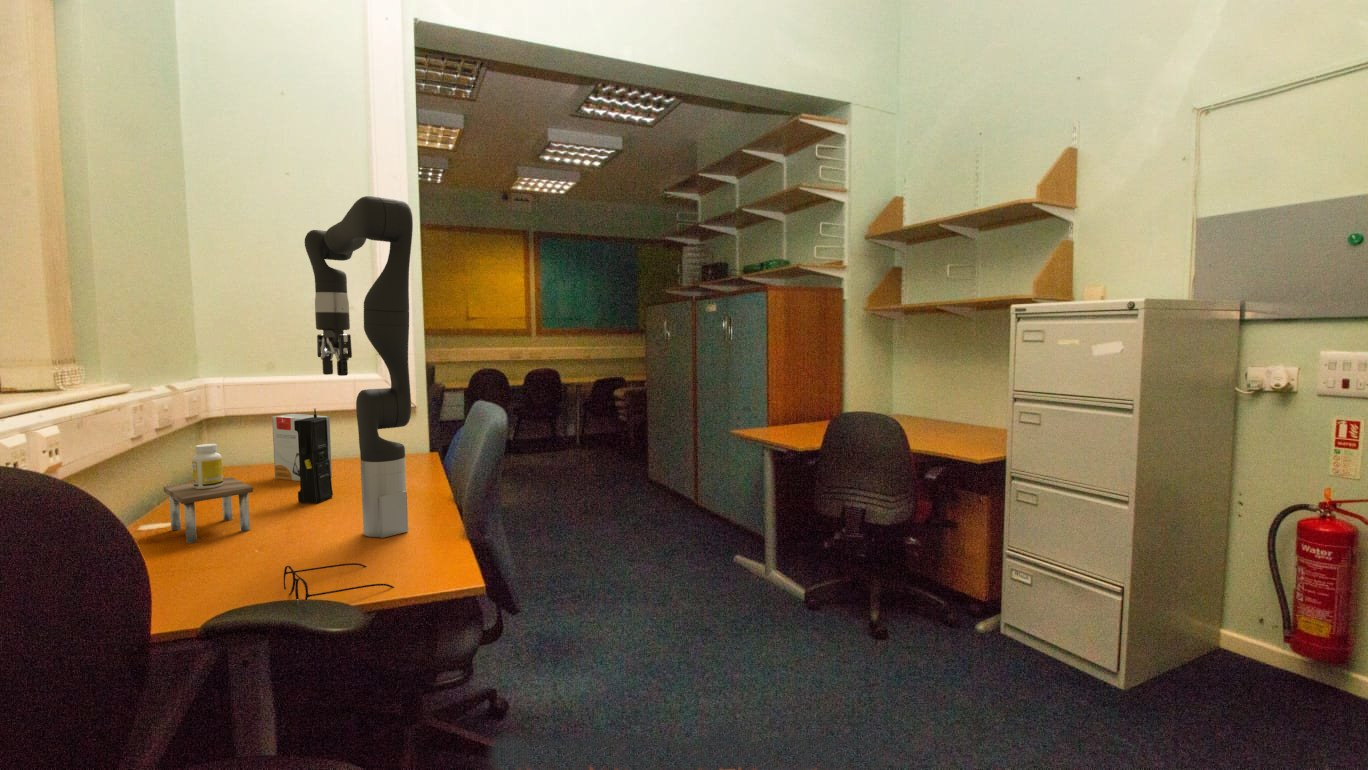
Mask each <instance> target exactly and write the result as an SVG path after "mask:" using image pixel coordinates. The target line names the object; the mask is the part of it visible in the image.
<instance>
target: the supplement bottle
mask: <svg viewBox="0 0 1368 770" xmlns="http://www.w3.org/2000/svg"><path fill="white" fill-rule="evenodd" d="M194 450H195V453H196V455H193V456H192V458H191V462H192V464H191V465H192V481H193V482H192V483H194V488H195V489H210V488H216V487H219V486H221V485H223V478H224V476H223V462H222V461H223V460H222V459H223V458H222V454H220V453H218V452H217V451H218V444H217V443H204V444H203V443H202V444H198V445H195V446H194Z"/></svg>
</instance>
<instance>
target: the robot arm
mask: <svg viewBox="0 0 1368 770" xmlns="http://www.w3.org/2000/svg"><path fill="white" fill-rule="evenodd" d="M413 223H414V222H413V213H412V209H411V207H410V205H409V204H408V203H407V202H406V201H404V200H398V199H391V198H385V197H379V196H369V195H368V196H362V197H360V198H359V199H357V200H356V201H355V202H354V203H353V204H352V206H351V207H350V209H349V210H348V211H347V213H346V214H345V215H344V217H343V218H342V220H341V221H339V222H337V223H335V224H333V225H332V226H331V227H328V229H327V230H321V229H311V230H310V231H308V232H307V233H306V235H305V237H304V248H305V250H306V253H307V256H308V259H309V262H310V264H311V268H312V272H313V276H314V289H315V291H314V292H315V293H314V294H315V297H314V311H315V312H314V316H315V328H316V330H318V331H322V333H321V334H317V336H316V344H317V346H316V347H317V348H316V349H317V352H316V353H317V358H320V360H322V361H321V362H322V363H321V364H322V374H323V375H326V376H327V375H333V374H334V365H333V364H334V363H333V361H334V360H333V357H334V355H335V358H336V371H337V372H336V373H337V376H338V377H339V376H342V377H344V376H347V375H348V374H349V371H348V369H349V368H348V361H349V360H350V359H352V357H353V352H352V351H353V349H352V339H351V338H352V337H351V334H349V333H344V331H349V330H350V329H351V327H350V324H351V323H350V321H351V320H350V302H349V298H348V297H349V296H348V282H347V280H348V279H347V274H346V273H345V271H343V270H341V269H337V268H333V267H331V266H330V265H328V263H327V261H326V260H330V261H339V262H340V261H347V260H350V259H351V258H352V256H353V253H354V252H355V251H357V250H359V249H360V248H363V246H364V245H365V243H366V241H367V239H368V240H371V241H378V242H386V243H389V251H388V256H387V261H386V263H385V266H384V267H383V269H382V272H381V273H380V274H379V276H378V277H377V278H376V279H375V281H374V282H373V284H372V285H371V287H370V288H369V290H368V292H367V293H366V295H365V296H364V300H363V330H364V331H363V332H364V334H365V335H366V337H367V339H368V340H369V342H370V344H371V345H372V347H373V348H374V350H376V352H377V354H378V355H379V357H380V358H381V359H382V361H383V362H384V364H385V366H386V368H387V370H388V371H387V372H388V373H389V378H390V387H385V388H384V387H383V388H371V389H370V388H368V389H362V390H360V391H359V392H358V394H357V397H356V404H355V410H356V413H355V414H356V421H357V431H358V432H357V433H358V444H359V445H358V446H359V454H360V455H359V456H360V478H361V479H360V480H361V481H360V483H361V502H362V503H361V505H362V526H363V528H362V529H363V535H364V536H366V537H369V538H370V537H371V538H380V539H384V538H387V537H392V536H395V535H399V534H403V533H408V532H409V519H408V517H409V516H408V513H409V512H408V492H407V478H406V477H407V475H406V472H407V471H406V448H405V445H404V444H403V443H401V442H395V441H391V440H388V439H385V438H382V437H381V436H380V435H379V431H378V430H382V429H383V430H385V429H394V428H402V427H406V426H407V425H408V424H409V422H410V420H411V416H412V397H411V396H412V395H411V383H410V381H411V380H410V370H409V369H410V368H409V367H410V366H409V340H410V339H409V336H410V334H409V333H410V296H409V295H410V290H409V289H410V288H409V287H410V264H411V263H410V262H411V261H410V260H411V252H412V243H413V242H412V241H413V230H414V229H413V228H414V227H413V225H414V224H413Z"/></svg>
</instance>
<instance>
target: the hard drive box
mask: <svg viewBox="0 0 1368 770" xmlns="http://www.w3.org/2000/svg"><path fill="white" fill-rule="evenodd" d="M314 415H315V414H304V413H303V414H301V413H300V414H299V413H288V414H281V415H273V416H271V418H272V422H271V423H272V437H273V440H272V441H273V442H272V443H273V461H274V464H273V465H274V478H275V479H278V480H282V481H283V480H284V481H296V482H300V466H299V445H298V432H297V431H295V428H294V421H296V420H301V419H305V418H311V417H314ZM316 415H317V414H316ZM317 417H326V420H327V434H328V457H329V460H330V472H331V478H332V477H333V474H332V473H333V471H332V470H333V468H332V445H331V442H332V441H331V421H330V415H329V416H328V415H317Z"/></svg>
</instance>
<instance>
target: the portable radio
mask: <svg viewBox="0 0 1368 770" xmlns="http://www.w3.org/2000/svg"><path fill="white" fill-rule="evenodd" d="M313 411H314V414H313V415H314V417H311V418H305V419H301V420H296V421H294V428H295V431H297V432H298V445H299V466H300V481H299V483H300V484H299V485H300V487H299V488H300V489H299V491H297V499H298V500H297V501H298V503H300V504H319V503H321V502H324V501H326V500H328V499H331V498H332V497H333V495H334V492H333V485H332V477H331V472H330V460H329V457H328V434H327V420H326V417H317V411H316V409H313Z"/></svg>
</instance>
